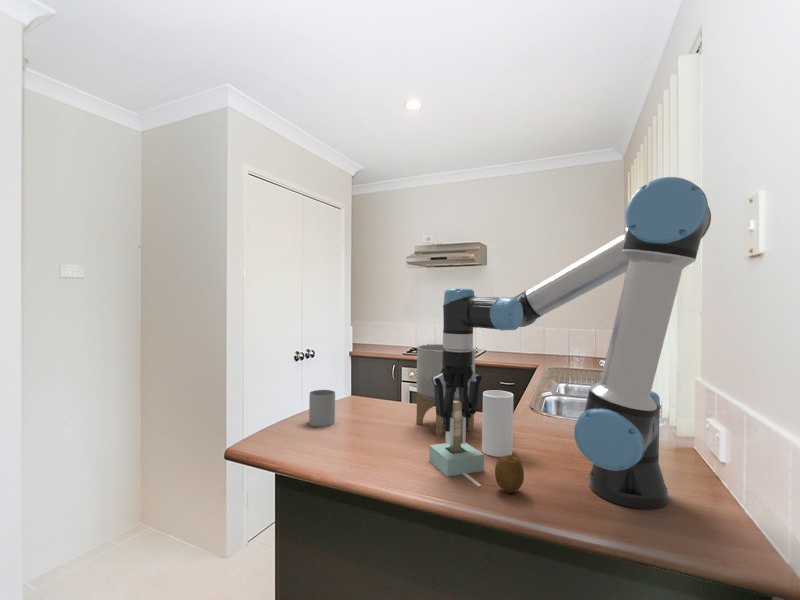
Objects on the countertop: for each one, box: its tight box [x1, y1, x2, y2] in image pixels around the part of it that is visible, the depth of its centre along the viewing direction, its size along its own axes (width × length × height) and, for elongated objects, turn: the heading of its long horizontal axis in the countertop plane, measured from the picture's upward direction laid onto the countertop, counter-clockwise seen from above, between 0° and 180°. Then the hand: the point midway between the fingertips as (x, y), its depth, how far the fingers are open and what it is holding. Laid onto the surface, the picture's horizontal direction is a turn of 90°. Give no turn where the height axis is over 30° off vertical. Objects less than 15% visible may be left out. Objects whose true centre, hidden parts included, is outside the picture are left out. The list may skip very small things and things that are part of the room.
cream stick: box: [462, 473, 482, 488], centre depth 96 cm, size 7×1×1 cm, turn 21°
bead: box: [428, 441, 485, 478], centre depth 104 cm, size 10×10×4 cm
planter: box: [415, 343, 476, 437], centre depth 135 cm, size 19×19×26 cm
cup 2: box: [481, 389, 514, 458], centre depth 114 cm, size 8×8×16 cm
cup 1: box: [308, 389, 336, 428], centre depth 137 cm, size 8×8×10 cm
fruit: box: [494, 455, 525, 493], centre depth 90 cm, size 6×6×8 cm
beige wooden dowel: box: [450, 401, 462, 454], centre depth 104 cm, size 3×3×16 cm
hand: (455, 442), depth 104 cm, fingers closed on beige wooden dowel, 3 cm apart
